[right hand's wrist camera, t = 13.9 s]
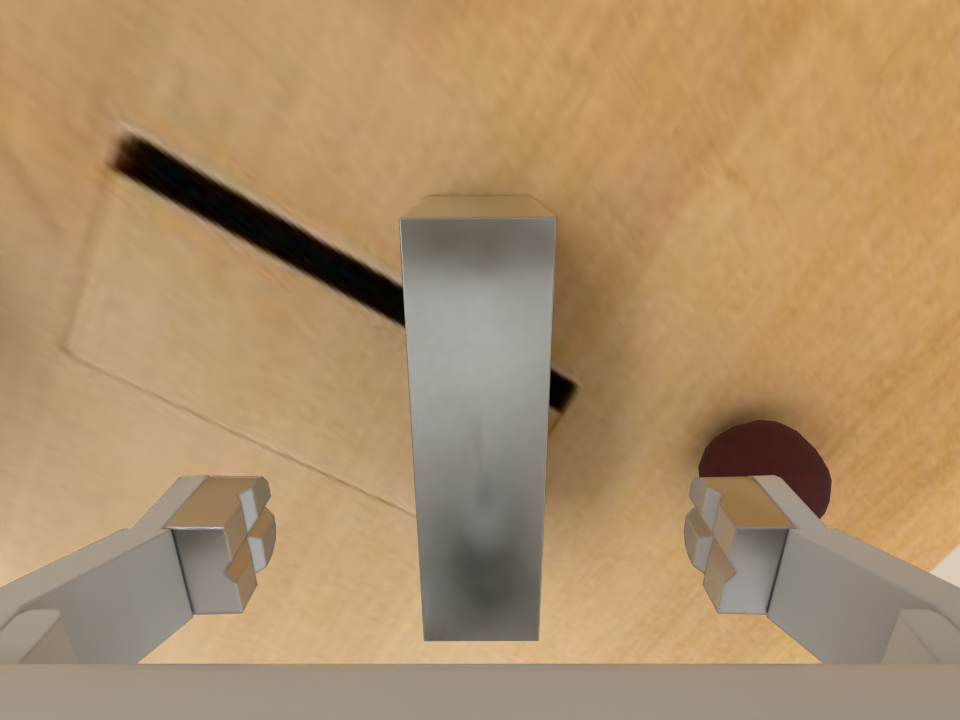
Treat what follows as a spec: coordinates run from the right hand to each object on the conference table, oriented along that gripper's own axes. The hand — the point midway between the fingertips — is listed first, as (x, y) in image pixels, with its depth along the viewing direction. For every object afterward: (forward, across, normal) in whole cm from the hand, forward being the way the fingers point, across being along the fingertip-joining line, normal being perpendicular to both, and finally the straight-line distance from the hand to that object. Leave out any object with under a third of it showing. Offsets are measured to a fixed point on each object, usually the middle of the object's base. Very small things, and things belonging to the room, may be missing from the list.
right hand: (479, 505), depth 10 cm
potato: (+25, -19, +14) cm, 34 cm away
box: (+25, 0, +8) cm, 26 cm away
